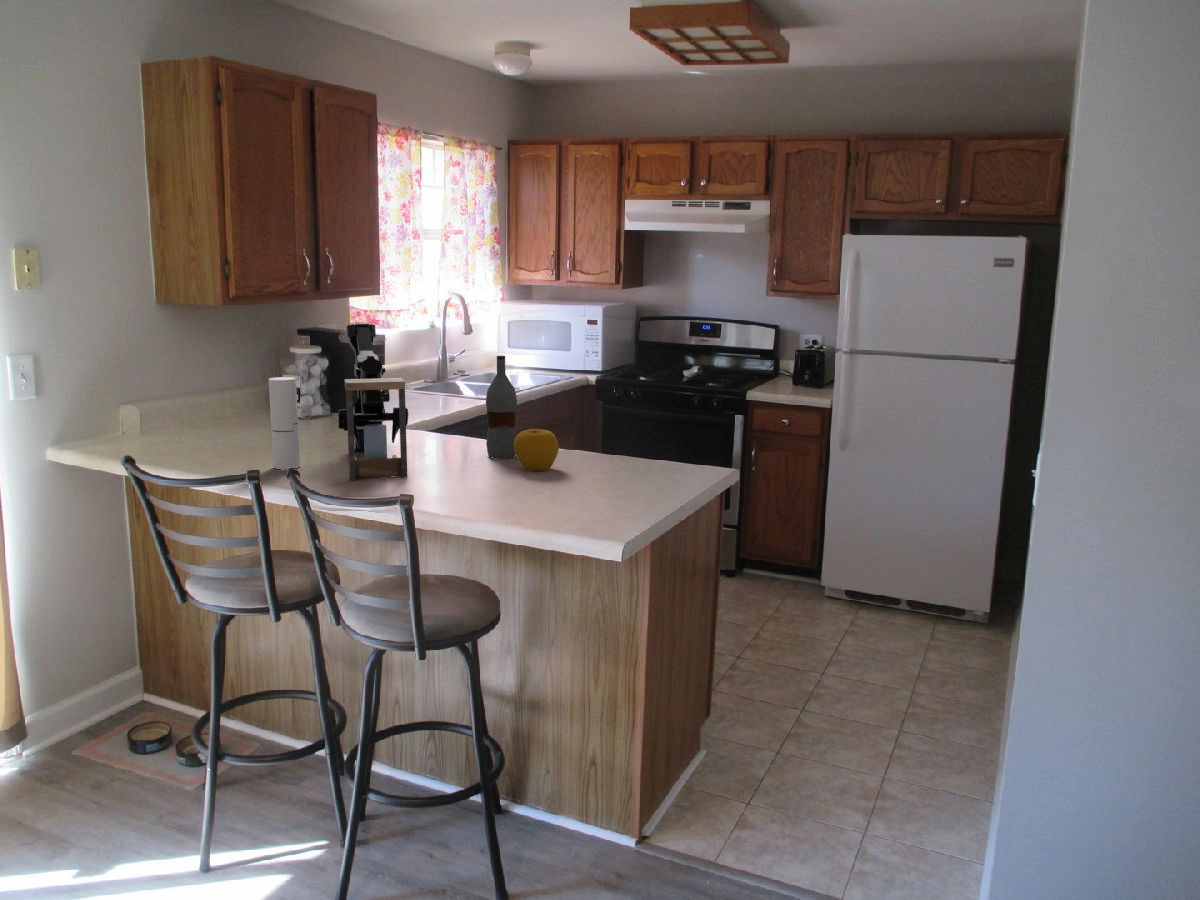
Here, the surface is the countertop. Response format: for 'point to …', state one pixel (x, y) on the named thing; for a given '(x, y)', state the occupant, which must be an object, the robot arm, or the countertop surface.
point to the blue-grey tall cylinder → (375, 441)
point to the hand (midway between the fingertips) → (375, 442)
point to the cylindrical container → (284, 422)
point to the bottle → (501, 414)
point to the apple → (536, 449)
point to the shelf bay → (356, 467)
